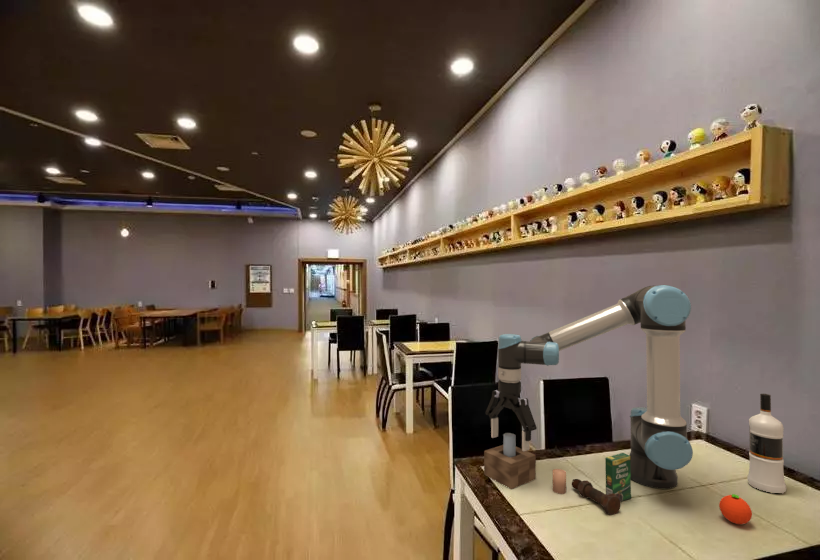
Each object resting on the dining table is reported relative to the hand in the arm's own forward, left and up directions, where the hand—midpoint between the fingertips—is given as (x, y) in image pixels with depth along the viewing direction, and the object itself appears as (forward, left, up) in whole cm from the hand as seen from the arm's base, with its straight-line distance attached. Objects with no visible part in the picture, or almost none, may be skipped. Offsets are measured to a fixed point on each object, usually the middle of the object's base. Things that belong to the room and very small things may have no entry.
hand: (509, 443), depth 133 cm
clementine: (-52, -32, -11) cm, 62 cm away
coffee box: (-28, -16, -11) cm, 34 cm away
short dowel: (-15, -6, -11) cm, 20 cm away
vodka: (-51, -63, -11) cm, 82 cm away
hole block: (0, 0, -11) cm, 11 cm away
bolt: (-24, -10, -12) cm, 29 cm away
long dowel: (0, 0, -11) cm, 11 cm away
